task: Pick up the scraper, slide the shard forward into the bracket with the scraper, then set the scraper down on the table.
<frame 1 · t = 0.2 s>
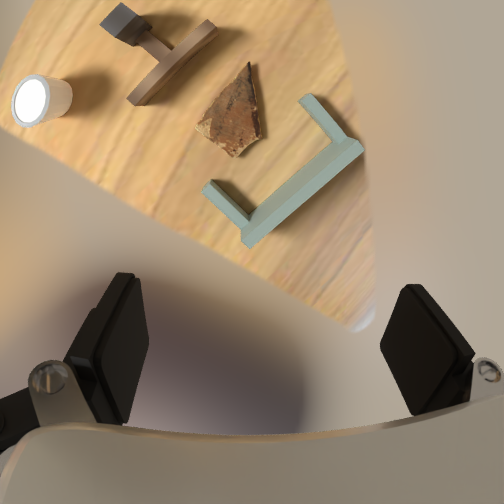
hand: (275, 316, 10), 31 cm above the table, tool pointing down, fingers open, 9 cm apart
shard: (226, 111, 35), on the table
bracket: (269, 156, 38), on the table
scraper: (176, 65, 31), on the table
shot glass: (57, 98, 32), on the table
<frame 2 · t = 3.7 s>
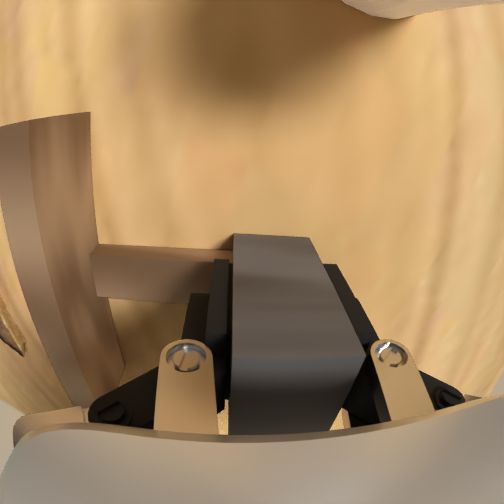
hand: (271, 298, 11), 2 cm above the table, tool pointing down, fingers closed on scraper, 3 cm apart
scraper: (87, 263, 12), on the table, touching gripper
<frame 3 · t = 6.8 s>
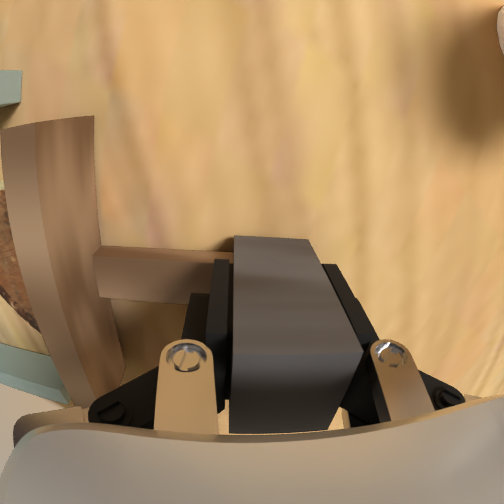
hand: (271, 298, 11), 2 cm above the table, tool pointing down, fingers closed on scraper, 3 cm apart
shard: (52, 253, 13), on the table
bracket: (0, 252, 12), on the table
scraper: (89, 264, 12), on the table, touching gripper
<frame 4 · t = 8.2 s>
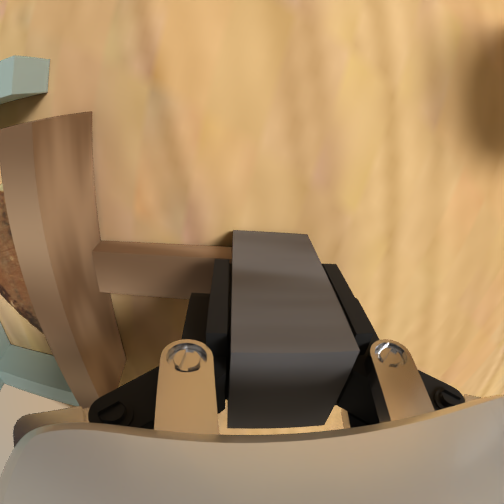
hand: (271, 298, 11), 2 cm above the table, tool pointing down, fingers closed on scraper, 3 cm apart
shard: (49, 251, 13), on the table
bracket: (17, 250, 12), on the table
scraper: (89, 259, 12), on the table, touching gripper
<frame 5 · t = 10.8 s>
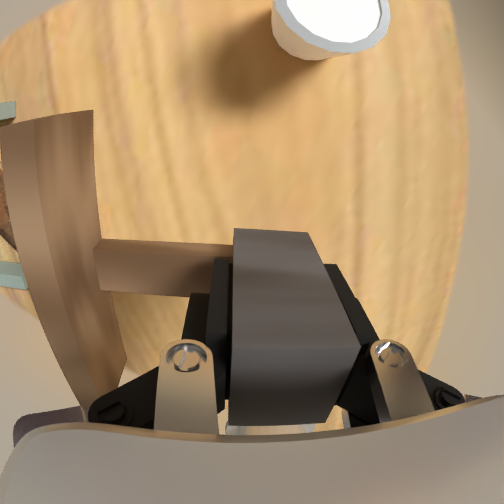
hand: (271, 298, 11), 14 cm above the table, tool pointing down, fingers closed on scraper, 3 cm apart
shard: (16, 196, 23), on the table
bracket: (1, 195, 22), on the table
scraper: (90, 258, 12), point 12 cm above the table, touching gripper
shot glass: (307, 28, 18), on the table
when the fingers open (3 cm above the table, at t = 12.9 s): scraper stays where it is, on the table.
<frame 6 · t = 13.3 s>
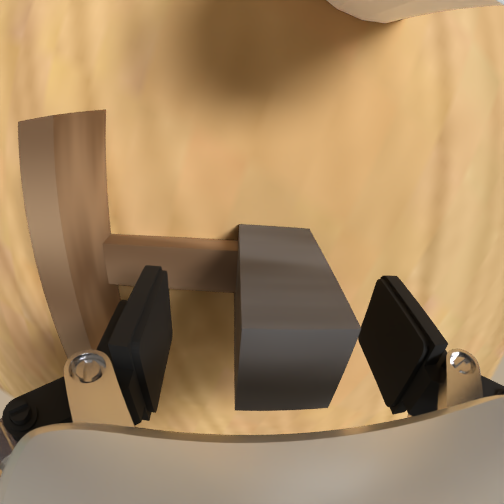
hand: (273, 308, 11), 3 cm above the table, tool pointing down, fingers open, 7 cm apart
scraper: (99, 253, 13), on the table
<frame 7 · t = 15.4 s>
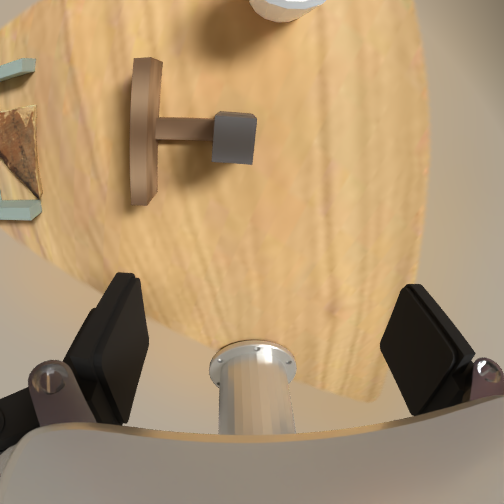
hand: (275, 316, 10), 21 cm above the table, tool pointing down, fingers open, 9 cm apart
shard: (30, 139, 25), on the table
bracket: (16, 139, 24), on the table
scraper: (150, 127, 26), on the table
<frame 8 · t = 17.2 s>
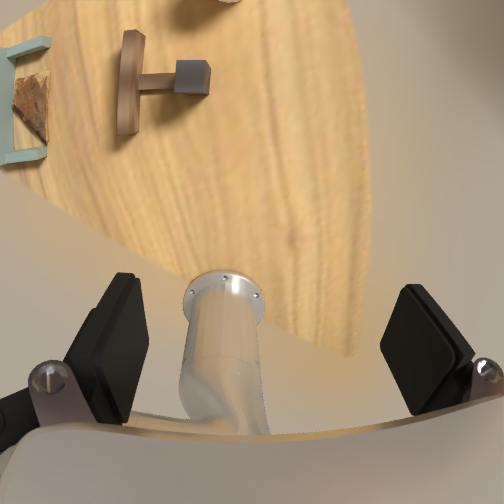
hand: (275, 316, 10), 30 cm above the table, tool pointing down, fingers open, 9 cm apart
shard: (43, 99, 31), on the table
bracket: (31, 99, 30), on the table
scraper: (135, 83, 32), on the table
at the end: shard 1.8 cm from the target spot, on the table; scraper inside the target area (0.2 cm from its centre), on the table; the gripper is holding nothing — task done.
